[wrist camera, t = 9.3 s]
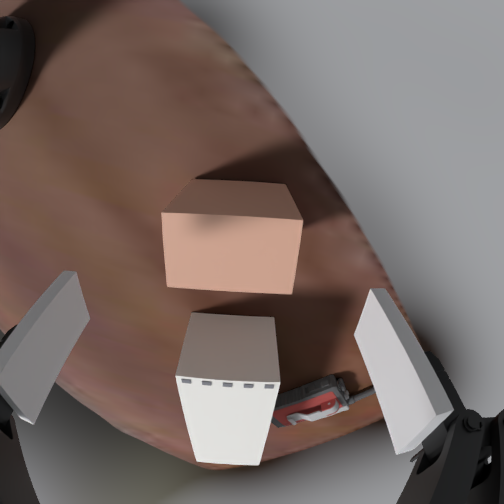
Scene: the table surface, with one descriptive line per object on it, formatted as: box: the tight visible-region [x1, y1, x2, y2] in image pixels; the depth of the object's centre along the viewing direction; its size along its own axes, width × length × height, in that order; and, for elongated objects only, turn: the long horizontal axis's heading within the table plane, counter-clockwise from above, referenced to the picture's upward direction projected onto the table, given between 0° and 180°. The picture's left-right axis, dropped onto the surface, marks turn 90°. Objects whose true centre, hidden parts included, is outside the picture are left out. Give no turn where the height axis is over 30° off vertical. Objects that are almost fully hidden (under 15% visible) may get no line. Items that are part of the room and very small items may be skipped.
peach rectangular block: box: [162, 179, 303, 294], centre depth 21 cm, size 5×8×9 cm, turn 86°
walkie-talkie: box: [271, 375, 376, 428], centre depth 36 cm, size 9×4×20 cm
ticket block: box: [175, 312, 280, 465], centre depth 31 cm, size 22×9×9 cm, turn 176°
